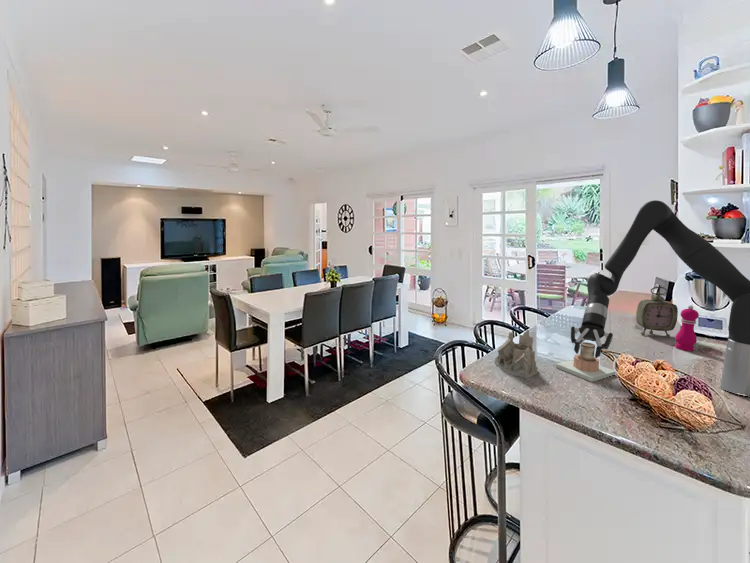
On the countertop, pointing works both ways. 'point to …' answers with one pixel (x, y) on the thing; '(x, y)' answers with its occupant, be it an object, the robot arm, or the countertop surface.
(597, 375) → the flat grey base plate
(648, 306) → the tabletop clock
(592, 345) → the birch plug
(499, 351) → the grey-brown toy castle
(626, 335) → the countertop surface
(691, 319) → the pepper mill
